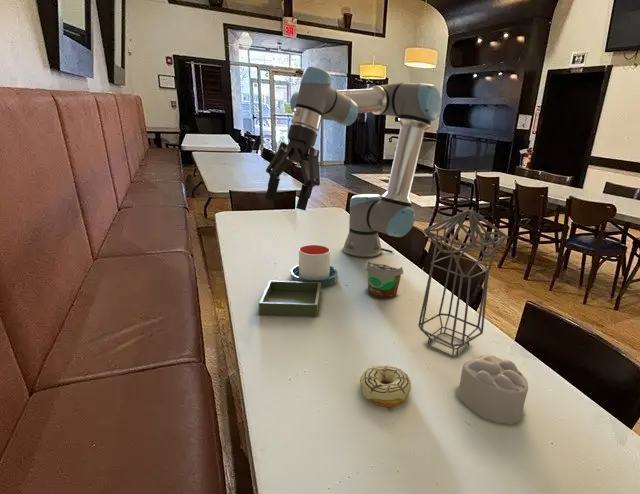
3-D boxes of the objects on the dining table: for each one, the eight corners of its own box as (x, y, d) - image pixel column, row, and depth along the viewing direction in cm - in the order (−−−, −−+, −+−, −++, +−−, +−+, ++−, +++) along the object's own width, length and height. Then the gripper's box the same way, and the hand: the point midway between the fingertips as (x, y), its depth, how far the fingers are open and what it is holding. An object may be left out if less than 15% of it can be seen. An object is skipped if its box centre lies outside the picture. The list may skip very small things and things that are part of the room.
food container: (357, 295, 129) (358, 265, 125) (365, 288, 134) (367, 259, 130) (393, 304, 125) (396, 273, 121) (400, 296, 130) (403, 267, 126)
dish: (337, 271, 145) (338, 263, 144) (336, 289, 131) (336, 281, 130) (293, 270, 144) (293, 262, 143) (287, 288, 130) (287, 279, 129)
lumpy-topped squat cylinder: (484, 378, 93) (490, 345, 90) (533, 412, 83) (543, 376, 80) (451, 393, 87) (457, 358, 84) (500, 432, 77) (509, 394, 74)
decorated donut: (359, 409, 80) (360, 393, 79) (359, 375, 90) (360, 361, 89) (412, 410, 81) (414, 394, 80) (406, 376, 91) (407, 362, 90)
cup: (332, 274, 142) (333, 246, 138) (325, 285, 132) (326, 256, 129) (303, 271, 142) (303, 243, 139) (295, 282, 133) (294, 252, 129)
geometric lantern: (405, 344, 104) (420, 207, 91) (440, 323, 115) (457, 199, 103) (459, 371, 95) (485, 223, 82) (491, 346, 106) (517, 213, 93)
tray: (320, 292, 128) (320, 282, 127) (317, 316, 114) (317, 305, 113) (269, 290, 127) (269, 280, 125) (259, 314, 112) (258, 303, 111)
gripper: (265, 119, 116) (247, 193, 118) (326, 127, 102) (304, 211, 104) (285, 129, 122) (268, 198, 124) (346, 137, 108) (325, 216, 110)
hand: (284, 204), depth 114 cm, fingers open, 13 cm apart
